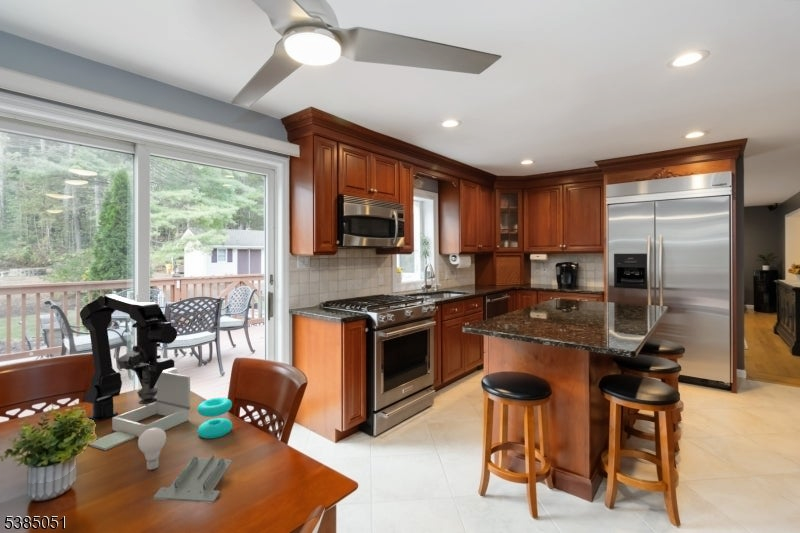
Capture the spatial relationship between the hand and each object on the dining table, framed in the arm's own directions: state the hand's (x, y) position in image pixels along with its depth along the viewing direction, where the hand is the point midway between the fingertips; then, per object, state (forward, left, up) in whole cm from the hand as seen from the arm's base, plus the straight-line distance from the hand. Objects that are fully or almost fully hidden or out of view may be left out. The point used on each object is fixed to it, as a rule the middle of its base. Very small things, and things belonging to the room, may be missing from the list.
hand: (147, 387), depth 128 cm
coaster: (0, -11, -13) cm, 17 cm away
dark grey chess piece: (0, 0, -5) cm, 5 cm away
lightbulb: (+27, -17, -13) cm, 34 cm away
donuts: (+25, +5, -13) cm, 28 cm away
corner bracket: (-14, +16, -13) cm, 25 cm away
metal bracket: (+44, -17, -14) cm, 49 cm away
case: (0, +1, -13) cm, 13 cm away
